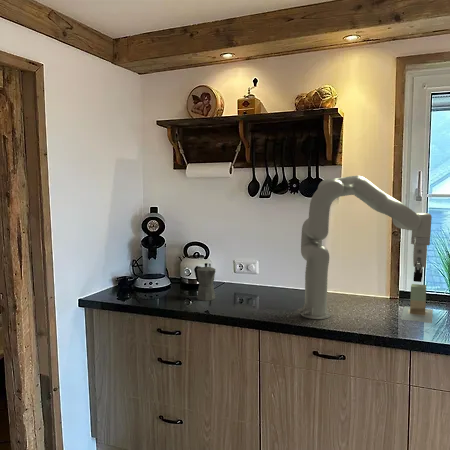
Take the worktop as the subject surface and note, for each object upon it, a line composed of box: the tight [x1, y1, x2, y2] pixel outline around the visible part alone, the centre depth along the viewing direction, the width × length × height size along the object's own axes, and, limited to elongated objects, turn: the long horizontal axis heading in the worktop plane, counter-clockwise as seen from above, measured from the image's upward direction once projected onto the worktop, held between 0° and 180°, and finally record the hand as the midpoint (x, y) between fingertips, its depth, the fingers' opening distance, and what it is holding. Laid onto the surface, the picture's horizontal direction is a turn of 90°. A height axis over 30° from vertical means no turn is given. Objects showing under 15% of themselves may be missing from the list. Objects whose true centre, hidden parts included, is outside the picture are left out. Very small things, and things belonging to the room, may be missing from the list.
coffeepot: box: [193, 262, 217, 302], centre depth 222 cm, size 15×9×18 cm, turn 44°
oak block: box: [409, 299, 427, 315], centre depth 196 cm, size 6×6×6 cm
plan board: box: [400, 306, 434, 324], centre depth 194 cm, size 22×12×1 cm, turn 154°
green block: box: [409, 283, 427, 301], centre depth 195 cm, size 6×6×6 cm
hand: (417, 279), depth 195 cm, fingers open, 9 cm apart
